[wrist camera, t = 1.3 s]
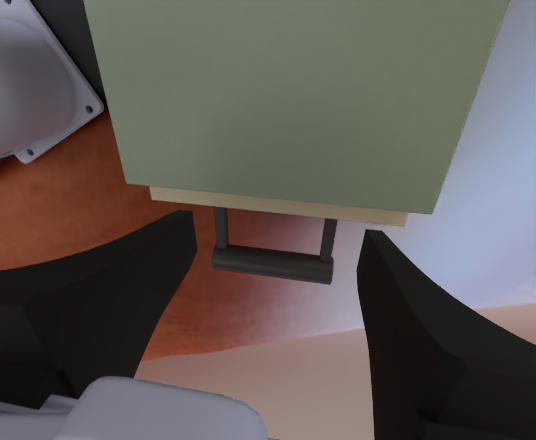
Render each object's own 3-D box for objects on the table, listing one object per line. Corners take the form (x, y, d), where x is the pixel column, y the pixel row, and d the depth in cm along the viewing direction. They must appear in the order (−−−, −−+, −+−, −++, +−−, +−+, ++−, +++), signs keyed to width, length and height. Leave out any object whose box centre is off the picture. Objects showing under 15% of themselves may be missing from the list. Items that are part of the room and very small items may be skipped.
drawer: (366, 240, 22) (380, 304, 16) (202, 221, 23) (165, 274, 18) (467, -174, 12) (590, -364, 6) (165, -158, 13) (55, -297, 8)
